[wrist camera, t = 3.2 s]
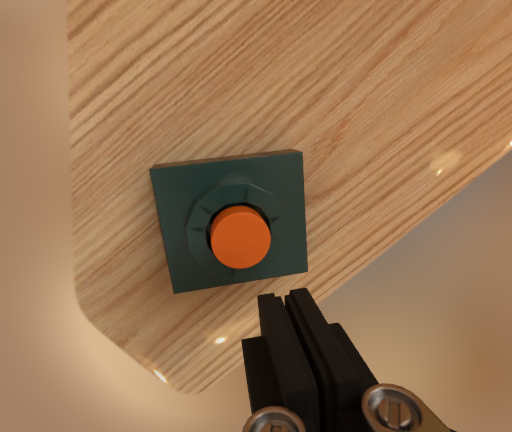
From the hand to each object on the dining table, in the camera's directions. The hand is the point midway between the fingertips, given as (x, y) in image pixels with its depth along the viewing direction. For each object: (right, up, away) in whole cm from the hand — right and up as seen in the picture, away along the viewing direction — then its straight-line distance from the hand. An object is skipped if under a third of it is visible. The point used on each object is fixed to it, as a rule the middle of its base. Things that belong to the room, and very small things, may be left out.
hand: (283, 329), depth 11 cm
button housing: (-3, +4, +13) cm, 14 cm away
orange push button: (-2, +3, +10) cm, 10 cm away
